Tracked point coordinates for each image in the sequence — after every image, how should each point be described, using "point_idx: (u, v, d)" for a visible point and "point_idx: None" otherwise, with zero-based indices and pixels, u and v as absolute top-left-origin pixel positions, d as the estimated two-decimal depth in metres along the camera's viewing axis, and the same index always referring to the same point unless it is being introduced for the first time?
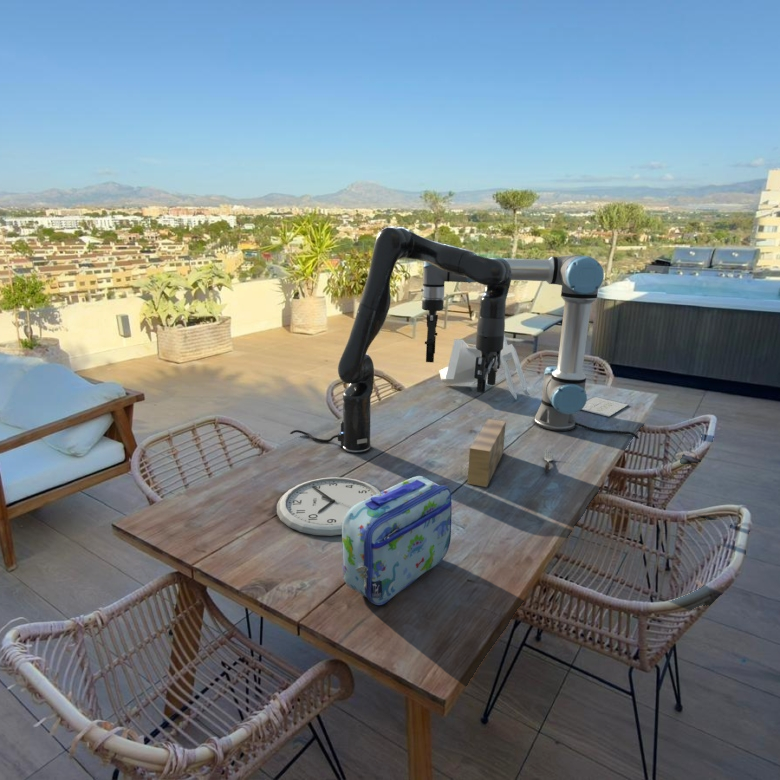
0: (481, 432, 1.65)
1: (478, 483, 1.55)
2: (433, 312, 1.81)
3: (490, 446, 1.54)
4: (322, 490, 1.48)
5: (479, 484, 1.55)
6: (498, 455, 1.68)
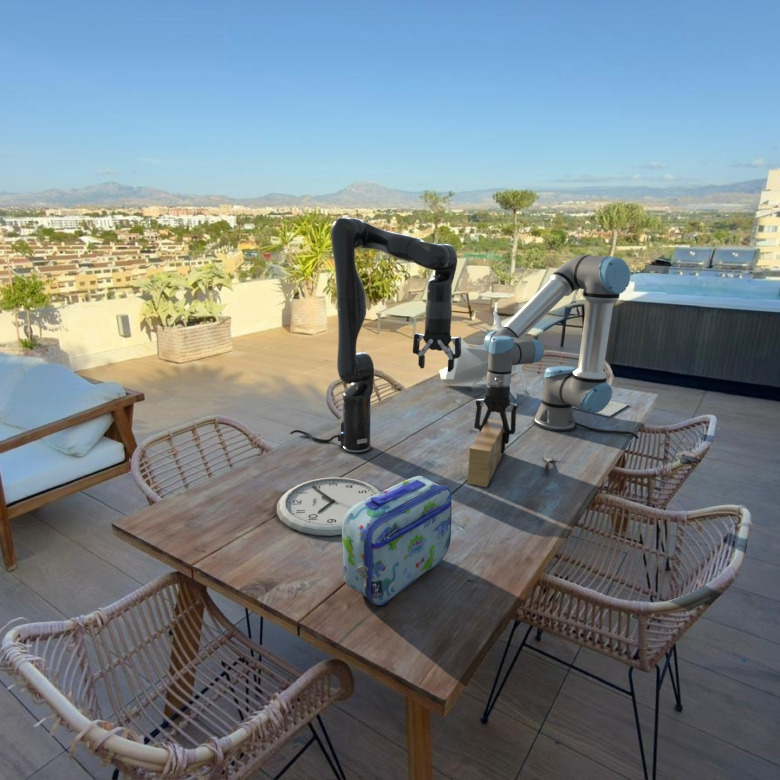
0: (481, 432, 1.65)
1: (478, 483, 1.55)
2: None
3: (490, 446, 1.54)
4: (322, 490, 1.48)
5: (479, 484, 1.55)
6: (498, 455, 1.68)
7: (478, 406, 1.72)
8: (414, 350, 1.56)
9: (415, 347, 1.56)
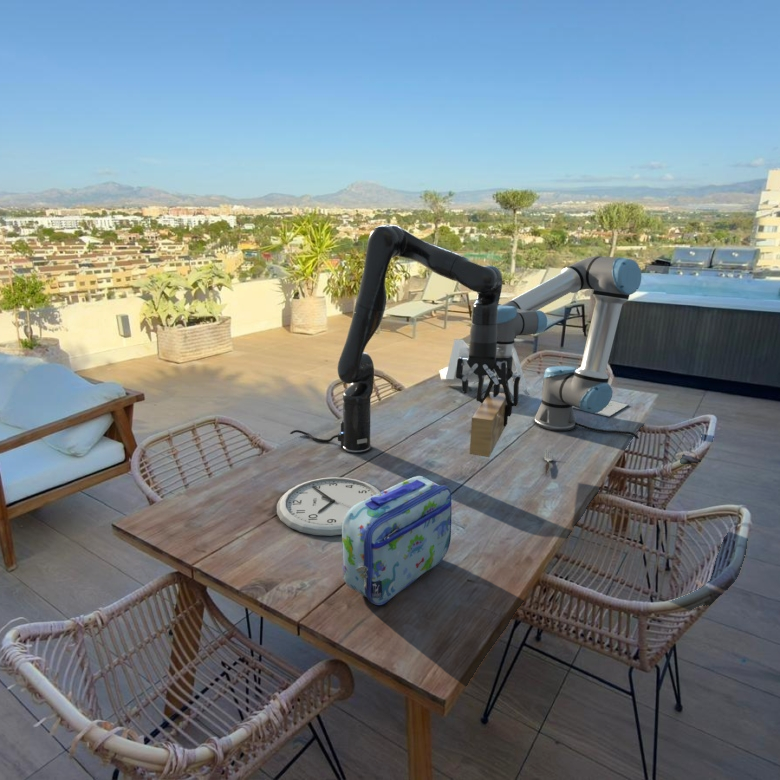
0: (483, 403, 1.62)
1: (480, 453, 1.52)
2: (511, 369, 1.66)
3: (492, 415, 1.51)
4: (322, 490, 1.48)
5: (481, 454, 1.52)
6: (500, 427, 1.66)
7: (480, 378, 1.69)
8: (457, 375, 1.50)
9: (459, 372, 1.50)
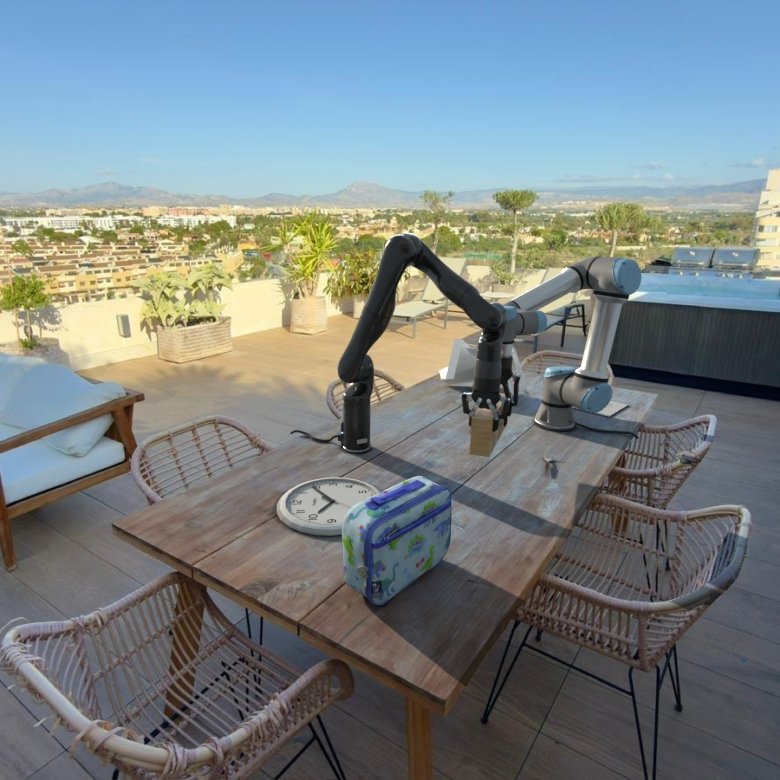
0: None
1: (480, 453, 1.52)
2: (511, 369, 1.66)
3: (492, 415, 1.51)
4: (322, 490, 1.48)
5: (481, 454, 1.52)
6: (500, 427, 1.66)
7: None
8: (464, 410, 1.52)
9: (465, 407, 1.52)
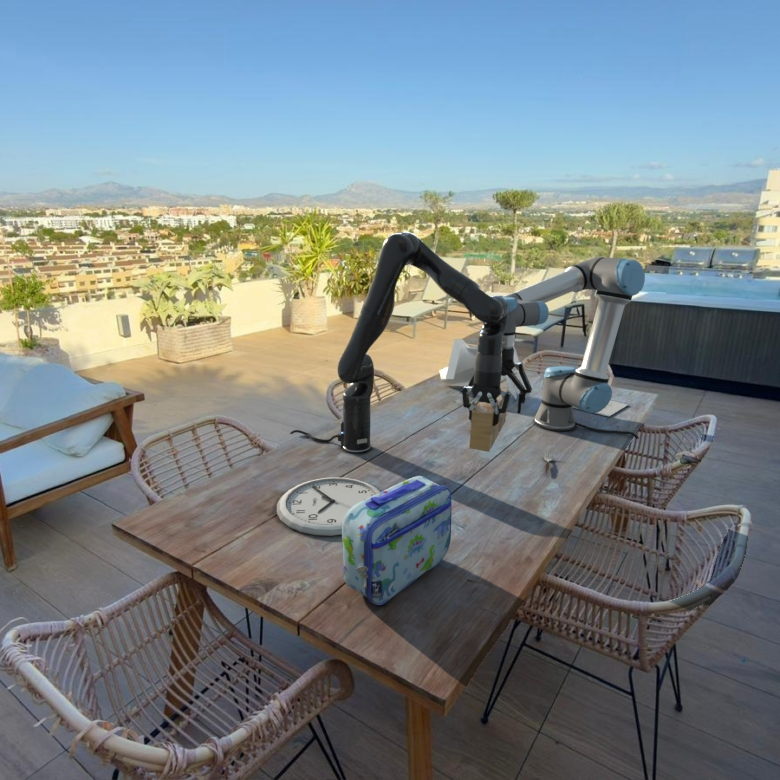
0: None
1: (480, 448, 1.52)
2: (513, 360, 1.66)
3: (493, 410, 1.51)
4: (322, 490, 1.48)
5: (481, 449, 1.52)
6: (500, 422, 1.65)
7: None
8: (465, 404, 1.52)
9: (465, 401, 1.52)
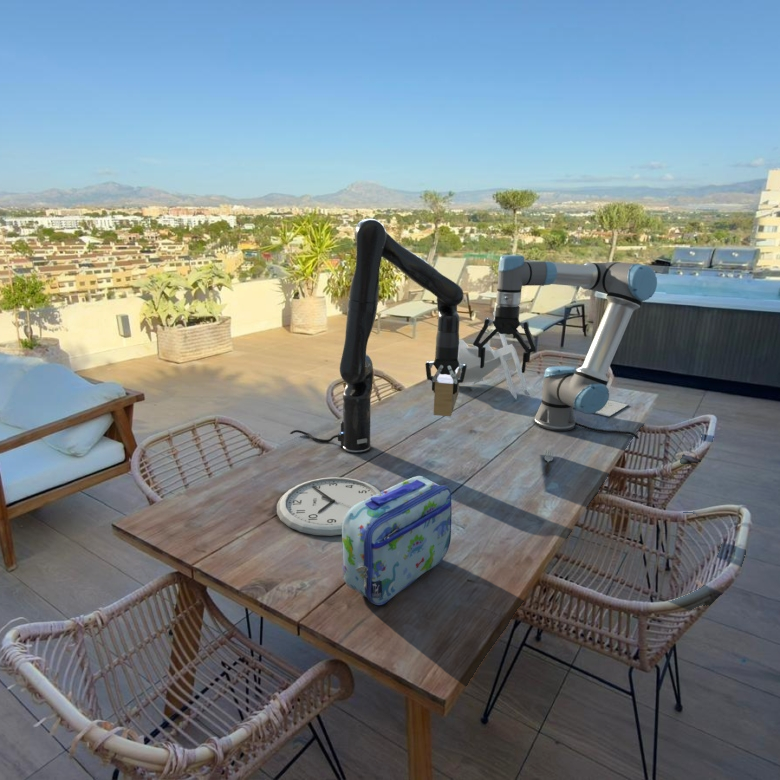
0: None
1: (443, 413, 1.76)
2: (518, 319, 1.67)
3: (452, 380, 1.76)
4: (322, 490, 1.48)
5: (444, 414, 1.76)
6: None
7: (485, 325, 1.70)
8: (428, 377, 1.76)
9: (428, 374, 1.75)
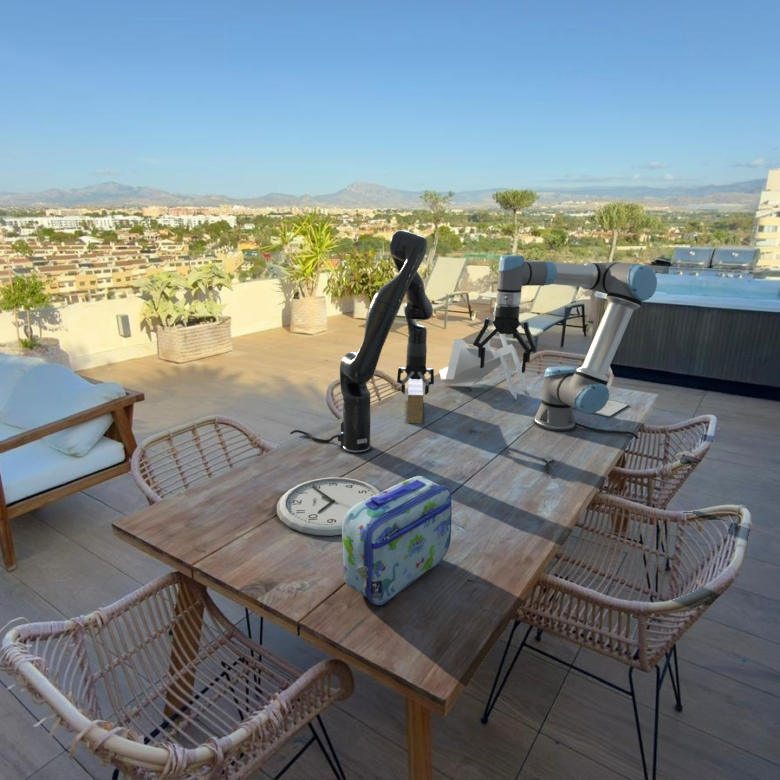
0: (409, 384, 2.13)
1: (415, 421, 2.03)
2: (518, 319, 1.67)
3: (421, 392, 2.04)
4: (322, 490, 1.48)
5: (416, 422, 2.04)
6: None
7: (485, 325, 1.70)
8: (398, 380, 2.01)
9: (399, 378, 2.01)
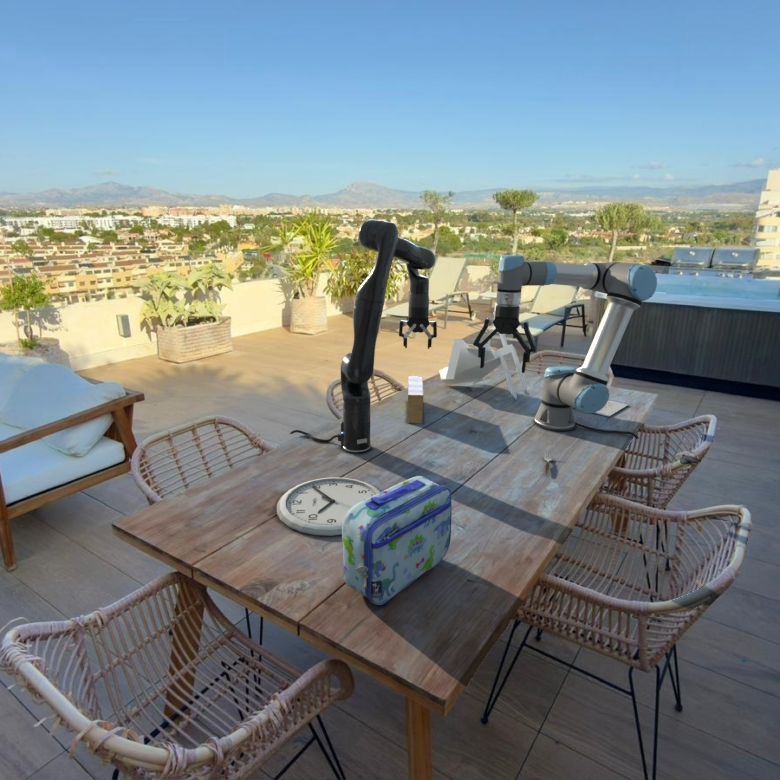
0: (409, 384, 2.13)
1: (415, 421, 2.03)
2: (518, 319, 1.67)
3: (421, 392, 2.04)
4: (322, 490, 1.48)
5: (416, 422, 2.04)
6: None
7: (485, 325, 1.70)
8: (400, 334, 1.96)
9: (401, 331, 1.96)
